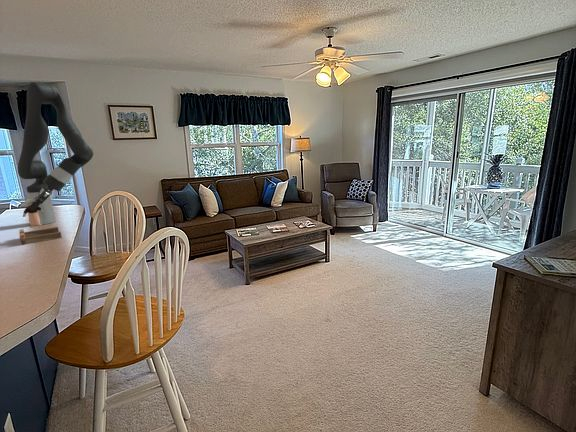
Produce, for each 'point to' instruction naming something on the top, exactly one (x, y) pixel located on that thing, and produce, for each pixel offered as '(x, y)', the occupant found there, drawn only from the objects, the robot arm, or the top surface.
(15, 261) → the top surface
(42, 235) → the trap box
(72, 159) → the robot arm
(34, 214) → the grandmother figurine
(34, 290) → the top surface
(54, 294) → the top surface
